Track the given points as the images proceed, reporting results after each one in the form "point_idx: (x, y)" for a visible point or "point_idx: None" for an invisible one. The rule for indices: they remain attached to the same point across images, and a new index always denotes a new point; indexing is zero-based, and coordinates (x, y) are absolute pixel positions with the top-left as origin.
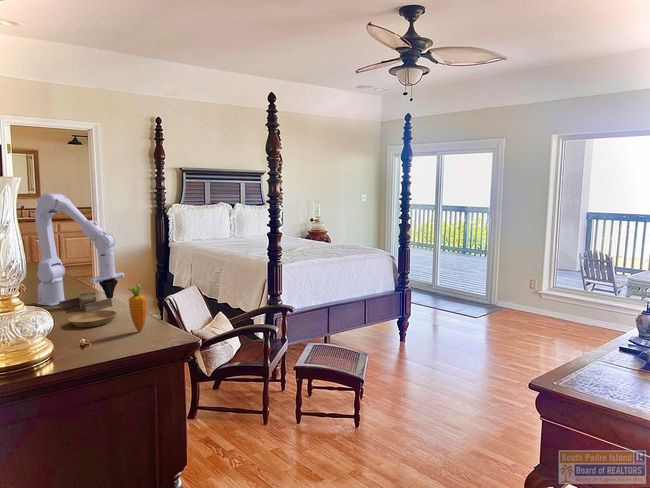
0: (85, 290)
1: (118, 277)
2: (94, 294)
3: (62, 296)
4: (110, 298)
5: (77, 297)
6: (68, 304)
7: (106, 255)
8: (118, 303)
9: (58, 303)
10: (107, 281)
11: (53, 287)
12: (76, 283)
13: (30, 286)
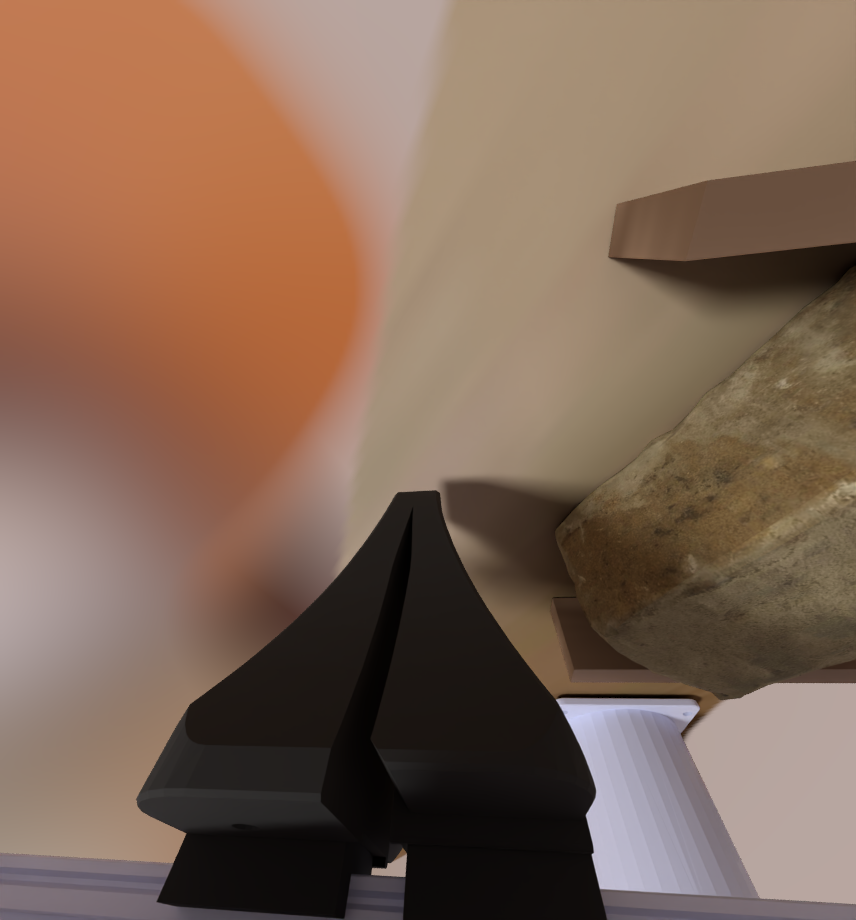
0: None
1: (44, 889)
2: (737, 574)
3: (614, 757)
4: (723, 194)
5: (669, 680)
6: None
7: None
8: (439, 291)
9: (643, 702)
10: (470, 842)
11: (739, 894)
12: None
13: None
